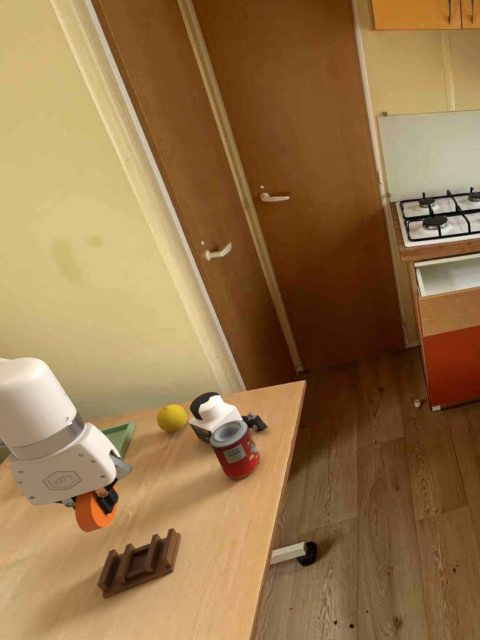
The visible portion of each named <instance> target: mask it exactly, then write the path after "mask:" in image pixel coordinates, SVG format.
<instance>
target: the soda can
mask: <svg viewBox="0 0 480 640" xmlns="http://www.w3.org/2000/svg"><path fill="white" fill-rule="evenodd" d="M210 444H211V445H210ZM210 444H209V445H210V446H211V448H212V450H213V452H214V454H215V457H216V458H217V461H218V462H219V465H220V467H221V469H222V470H223V474H224V475H226V476H227V477H229V478H231V479H233V480H242V479H246V478H247V477H249V476H250V475H252V474H253V473H254V472H255V471H256V469H258V467H259V462H260V458H261V457H260V452H259V449H258V447H257V444H256V442H255V440H254V438H253V434H252V432H251V430H250V429H249V428H248V425H247V424H246V423H245V422H244V421H240V420H235V421H230V422H227V423H225V424H223V425H221V426H220V427H218V428H217V429H216V430H215V431H214V432H213V434H212V435H211V438H210Z"/></svg>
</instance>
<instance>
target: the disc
mask: <svg viewBox="0 0 480 640" xmlns="http://www.w3.org/2000/svg"><path fill="white" fill-rule="evenodd" d="M113 488H114V489H115V491H116V492H117V493H118V488H117V485H116V484H115V485H114V486H113ZM97 498H98V495H97V494H96V492H95V491H94V490H93V491H90V492H87V493H84V494H80V495H77V497H76V502H75V510H74V515H75V516H74V517H75V520H76V523H77V526H78V527H79V529H80V530H81V531H82V532H84V533H92V532H94V531H97V530H100V529H103V528H106V527H108V526H110V524H111V523H112V522H113V520H114V518H115V516H116V513H117V510H118V503H119V501H118V502H117V503H116V504H115V506H114V508H113V511H112V513H110V514H106V513H105V512H104V511H103V509H102V508H101V506H100V505H99V504H98V502H97Z"/></svg>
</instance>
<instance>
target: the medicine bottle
mask: <svg viewBox="0 0 480 640" xmlns="http://www.w3.org/2000/svg"><path fill="white" fill-rule="evenodd" d="M189 411H190V412H191V414H192V416H193V417H192V418H191V419H189V420H188V424H189V426H190V427H191V429H192V430H193V432H194V434H195V435H196V437H197V438H198V440H199V441H201V442H203V443H206V444H208V445H210V446H211V444H210V438H211V435H212V434H213V432H214V431H215V430H216V429H217V428H218V427H220V426H221V425H223V424H225V423H227V422H230V421H235V420H240V421H242V420H243V419H242V418H241V416H242V415H241V414H240V412H239V410H238V408H237V407H236V406H235V405H232V404H231V403H227V402H225V401H224V400H223V398H222V396H221V395H220V393H218V392H216V391H207V392H204V393H202V394H200V395H198V396H197V397H195V399H193V400H192V402H191V404H190V406H189Z"/></svg>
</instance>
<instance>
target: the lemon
mask: <svg viewBox="0 0 480 640" xmlns="http://www.w3.org/2000/svg"><path fill="white" fill-rule="evenodd" d="M187 421H188V414H187V411H186V410H185V409H184V407H182V406H181V405H179V404H175V403H172V404H168V405H165V406H163V407H162V408H161V409H160V410H159V411H158V413H157V415H156V422H157V425H158V427H159V428H160V429H161V430H162V431H164V432H166V433H174V432H177V431H180V430H181V429H183V428H184V426H185V425H186V423H187Z"/></svg>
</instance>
